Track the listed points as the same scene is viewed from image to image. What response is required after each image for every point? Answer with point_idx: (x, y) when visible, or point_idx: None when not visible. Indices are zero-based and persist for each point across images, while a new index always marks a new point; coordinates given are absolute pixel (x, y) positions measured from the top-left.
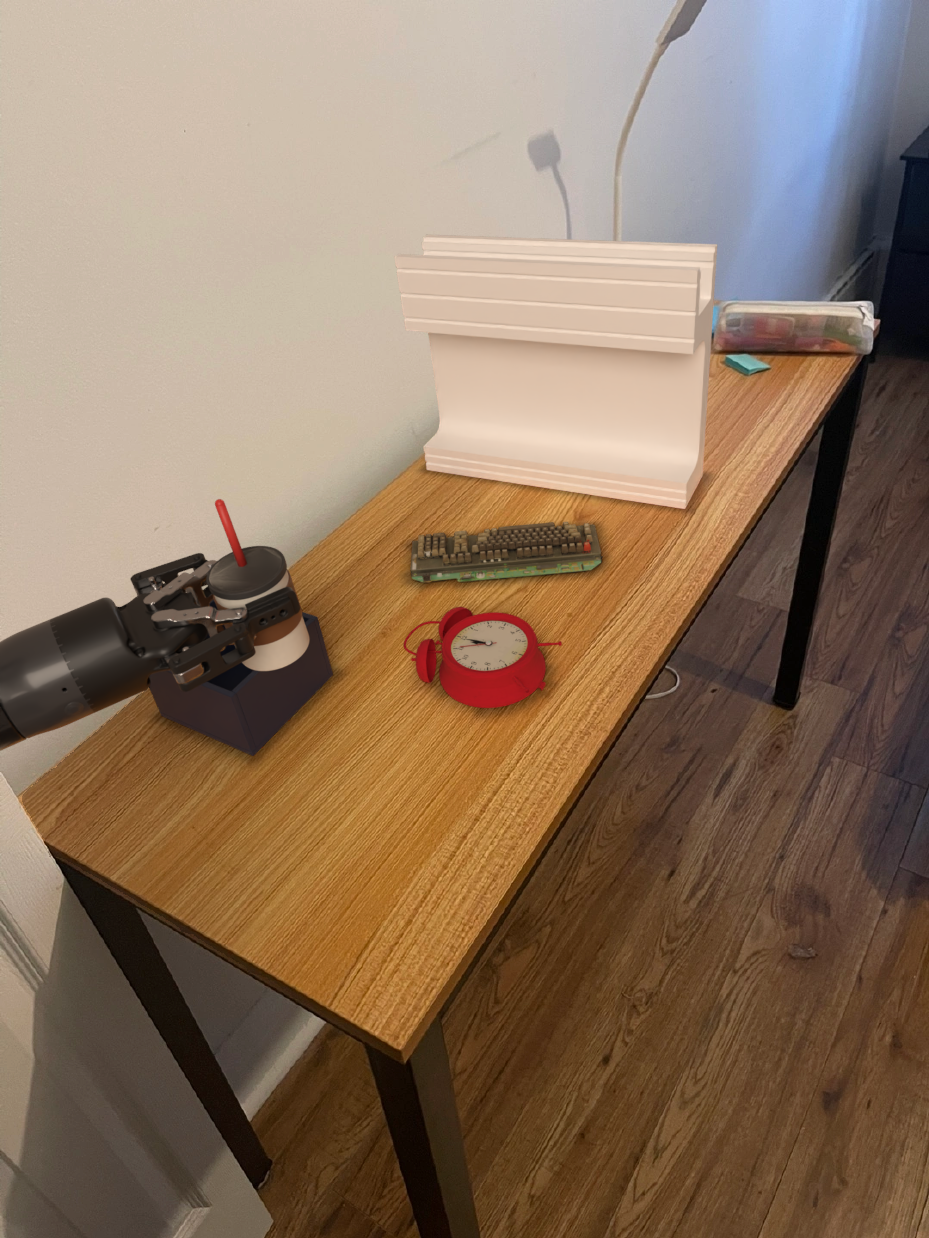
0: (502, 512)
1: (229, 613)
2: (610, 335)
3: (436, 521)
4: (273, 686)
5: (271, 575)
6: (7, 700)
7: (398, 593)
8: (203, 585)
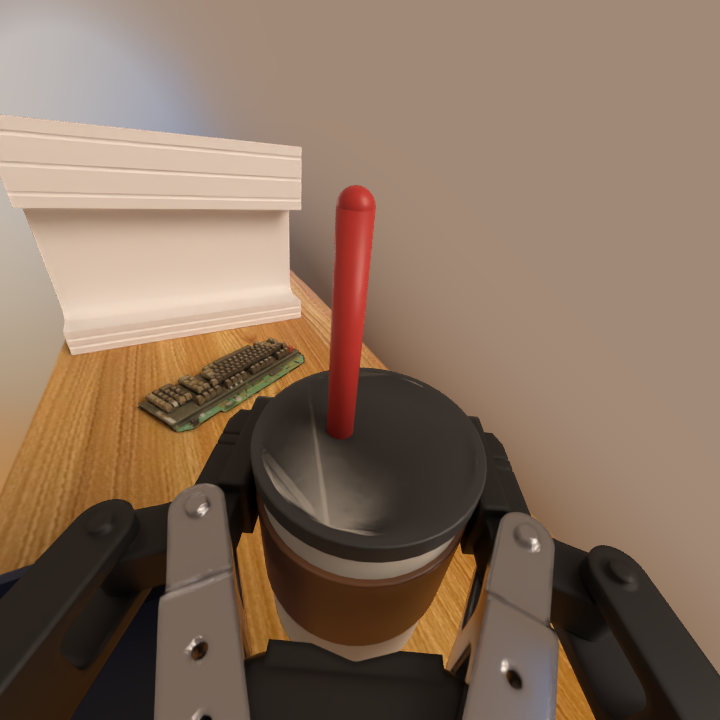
0: (190, 357)
1: (518, 562)
2: (243, 199)
3: (137, 383)
4: None
5: (442, 406)
6: None
7: (178, 450)
8: (147, 595)
